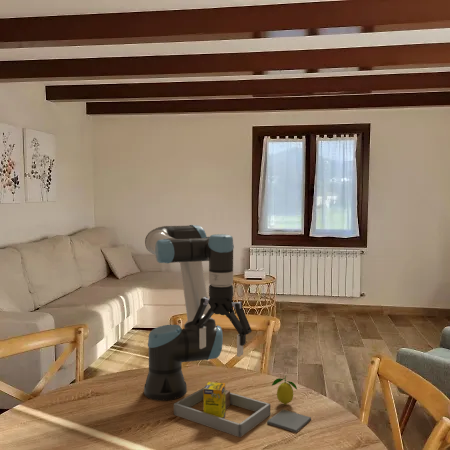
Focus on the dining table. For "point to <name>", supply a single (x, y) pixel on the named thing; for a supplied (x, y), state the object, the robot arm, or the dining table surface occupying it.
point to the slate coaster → (289, 420)
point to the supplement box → (214, 399)
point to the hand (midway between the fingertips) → (221, 351)
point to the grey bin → (220, 423)
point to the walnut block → (227, 399)
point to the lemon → (284, 391)
